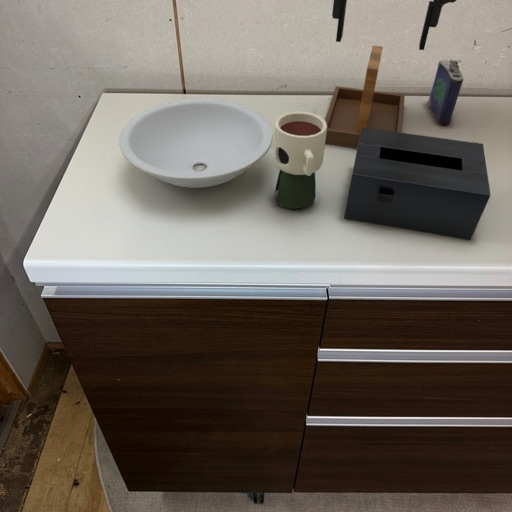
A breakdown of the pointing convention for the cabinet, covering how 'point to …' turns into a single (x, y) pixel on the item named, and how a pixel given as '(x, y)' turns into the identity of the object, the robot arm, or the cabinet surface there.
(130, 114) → the cabinet surface
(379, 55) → the toast
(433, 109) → the flask
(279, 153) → the character mug
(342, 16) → the robot arm
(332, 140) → the tray
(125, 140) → the white bowl
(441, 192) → the toaster
